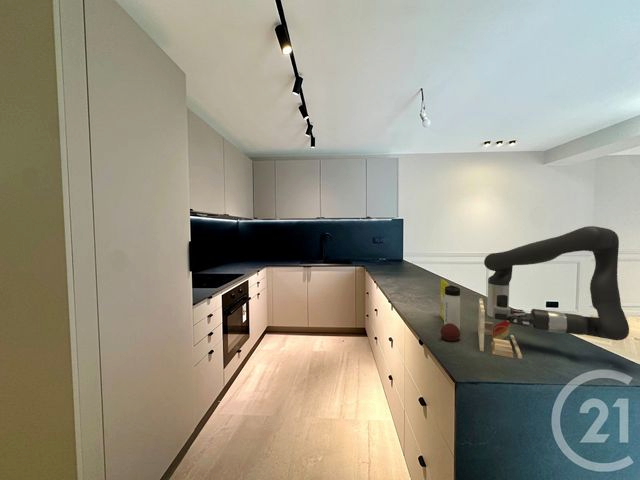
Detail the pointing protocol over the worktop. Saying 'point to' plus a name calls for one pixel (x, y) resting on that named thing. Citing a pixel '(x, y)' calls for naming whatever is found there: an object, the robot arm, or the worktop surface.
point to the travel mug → (452, 305)
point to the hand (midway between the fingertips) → (494, 313)
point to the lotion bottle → (501, 326)
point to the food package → (442, 297)
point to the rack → (489, 330)
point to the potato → (450, 332)
